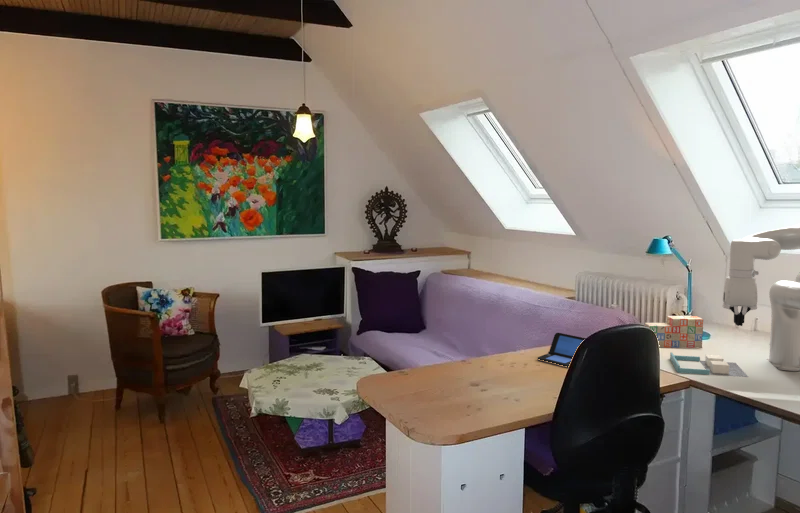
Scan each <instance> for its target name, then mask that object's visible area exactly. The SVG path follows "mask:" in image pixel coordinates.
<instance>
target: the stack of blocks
mask: <svg viewBox="0 0 800 513" xmlns="http://www.w3.org/2000/svg"><path fill="white" fill-rule="evenodd" d="M645 326H647V327H649V328H650V329H652V330H653V331H654V333H655V334H656V336H657V338H658V341H659V345H660V347H659V348H666V349H667V348H668V349H669V348H672V349H673V348H675V349H677V348H683V349H686V348H687V349H690V348H691V349H692V348H693V349H694V348H695V349H696V348H697V349H702V348H703V333H704V319H703V318H702V317H699V316H696V315H694V316H693V315H667V316H666V322H644V327H645Z"/></svg>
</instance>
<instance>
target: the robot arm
mask: <svg viewBox="0 0 800 513" xmlns="http://www.w3.org/2000/svg"><path fill="white" fill-rule="evenodd" d="M792 250H793V251H794V250H800V223H798V224H795V225H792V226H786V227H781V228H777V229H771V230H765V231H760V232H756V233H754V234H750V235H747V236H745V237H743V238H742V239H741V238H737V239H733V240H731V242H730V249H729V271H728V272H729V273H728V276H726V277H725V281H724V286H723V291H722V308H723V309H726V310H730V311H731V312H732V313H733V323H734V324H735V326H740V327H743V324H745V315H746V314H747V313H749V312H750V311H754V310H757V309H758V306H757V305H758V286H757V278H755V276H759V270H757V271H756V270H755V260H763V261H771V260H774V259H776V258H778V257H779V256H780V255H781V252H782V251H792ZM768 292H769V293H768V294H769V301H770V308H771V310H770V311H771V313H770V314H771V320H770V336H769V352H768V353H769V356H768V358H767V359H766V360H767V362H769V363H770V364H771V365H772V366H773V367H774V368H775V369H776V370H780V371H786V372H787V371H790V372H797V371H798V372H799V371H800V272H799V273H798V274H797V275H796V277H795V281H794V280H793V281H792V280H786V279H785V280H784V279H783V280H782V279H781V280H779V281H776V282H773V283H772V284H771V286H770V288H769V291H768ZM739 307H740V311H739Z"/></svg>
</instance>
